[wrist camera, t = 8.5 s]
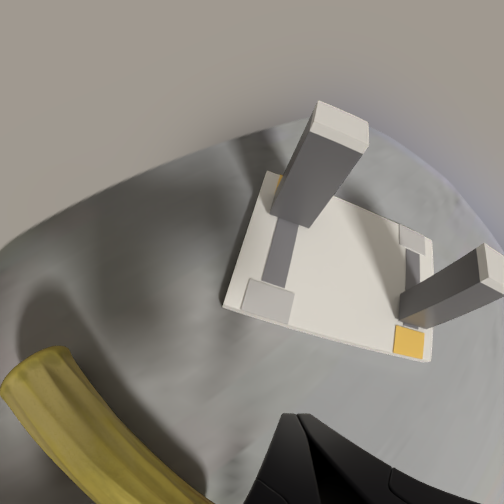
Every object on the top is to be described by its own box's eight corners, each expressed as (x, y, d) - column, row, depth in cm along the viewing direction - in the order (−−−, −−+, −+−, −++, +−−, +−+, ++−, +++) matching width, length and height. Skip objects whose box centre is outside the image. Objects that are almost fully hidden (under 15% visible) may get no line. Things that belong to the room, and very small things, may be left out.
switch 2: (426, 329, 23) (513, 291, 14) (398, 320, 23) (488, 277, 14) (427, 303, 24) (509, 259, 15) (399, 293, 24) (483, 242, 15)
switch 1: (309, 228, 24) (369, 145, 16) (269, 214, 24) (314, 121, 15) (313, 205, 26) (368, 122, 17) (275, 191, 25) (318, 100, 17)
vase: (-18, 394, 9) (169, 578, 7) (49, 334, 12) (242, 522, 11) (23, 398, 14) (163, 539, 12) (76, 352, 18) (219, 493, 16)
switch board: (425, 362, 23) (431, 361, 22) (222, 307, 21) (223, 303, 20) (427, 243, 29) (432, 239, 28) (264, 175, 27) (267, 169, 26)
